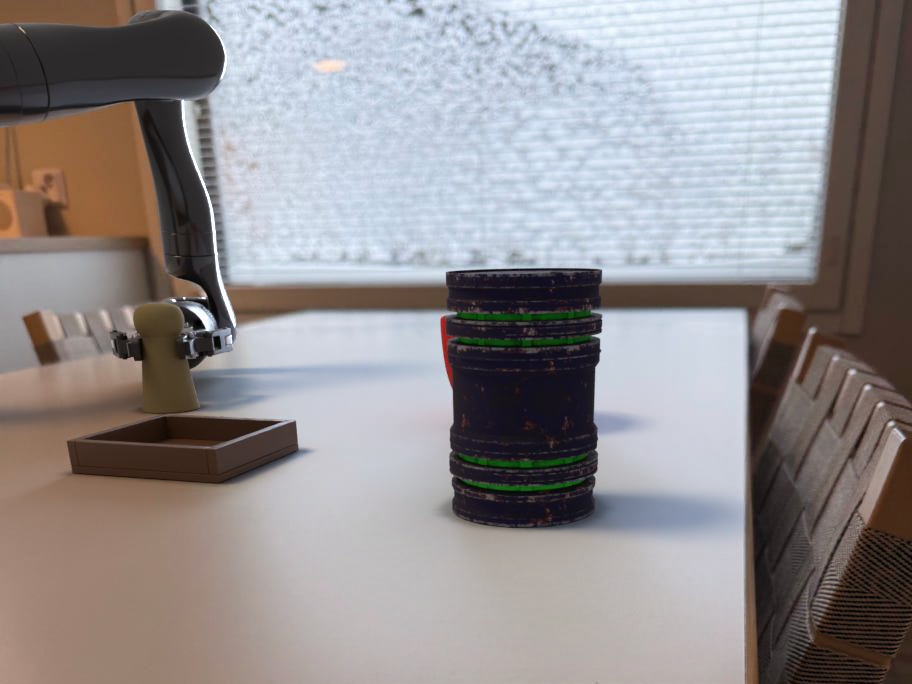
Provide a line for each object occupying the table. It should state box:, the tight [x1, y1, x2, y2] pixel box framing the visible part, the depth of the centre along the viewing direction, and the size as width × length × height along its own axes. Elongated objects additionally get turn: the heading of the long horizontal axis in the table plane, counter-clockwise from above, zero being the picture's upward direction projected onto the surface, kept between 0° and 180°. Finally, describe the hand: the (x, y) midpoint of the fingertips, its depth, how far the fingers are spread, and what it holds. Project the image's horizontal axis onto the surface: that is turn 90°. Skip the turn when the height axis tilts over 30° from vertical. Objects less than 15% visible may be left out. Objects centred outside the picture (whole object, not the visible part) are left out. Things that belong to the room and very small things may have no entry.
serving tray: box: [66, 413, 300, 484], centre depth 79 cm, size 14×13×3 cm
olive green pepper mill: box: [132, 301, 200, 414], centre depth 103 cm, size 6×6×11 cm
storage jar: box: [445, 267, 603, 528], centre depth 62 cm, size 10×10×15 cm
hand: (158, 349), depth 100 cm, fingers closed on olive green pepper mill, 4 cm apart
